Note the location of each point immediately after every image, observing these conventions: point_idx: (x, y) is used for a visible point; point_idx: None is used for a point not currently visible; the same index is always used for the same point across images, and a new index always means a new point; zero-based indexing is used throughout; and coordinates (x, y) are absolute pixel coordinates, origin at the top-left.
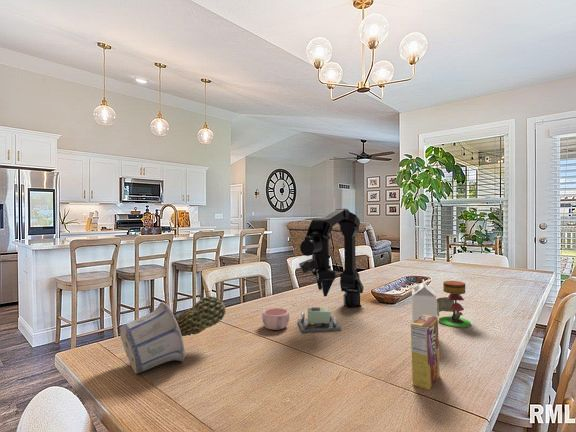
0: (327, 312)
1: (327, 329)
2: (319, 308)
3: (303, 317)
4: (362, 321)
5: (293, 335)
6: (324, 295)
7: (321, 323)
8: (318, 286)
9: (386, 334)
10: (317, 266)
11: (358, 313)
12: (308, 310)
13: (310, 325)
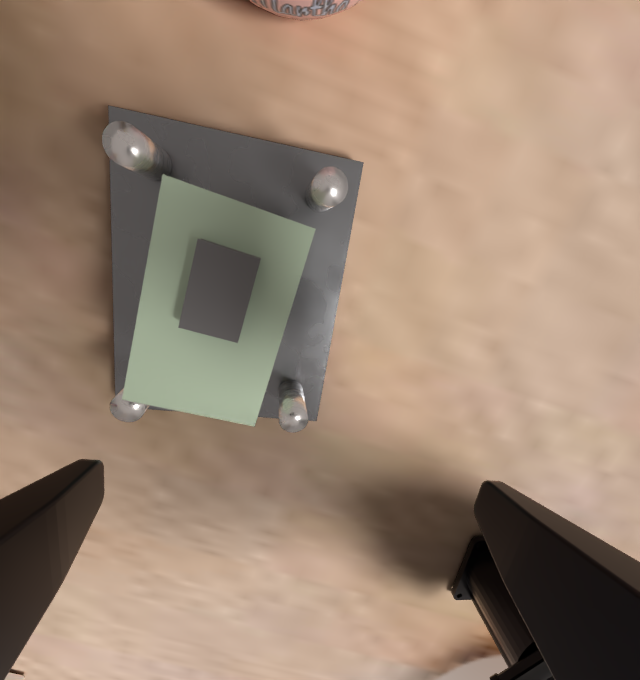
0: (127, 377)
1: (117, 317)
2: (198, 330)
3: (309, 191)
4: (245, 540)
5: (60, 8)
6: (68, 475)
7: None
8: (522, 517)
9: None
10: None
11: (369, 555)
12: (216, 205)
13: None
